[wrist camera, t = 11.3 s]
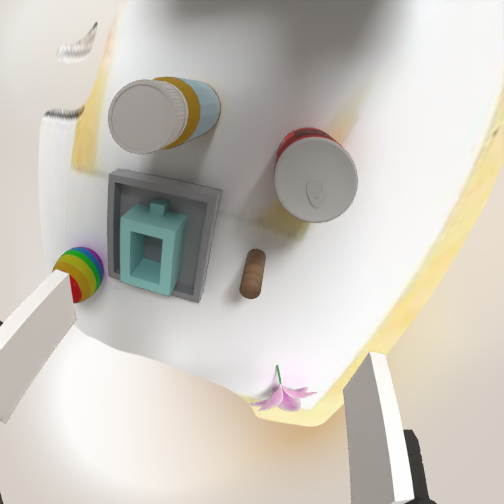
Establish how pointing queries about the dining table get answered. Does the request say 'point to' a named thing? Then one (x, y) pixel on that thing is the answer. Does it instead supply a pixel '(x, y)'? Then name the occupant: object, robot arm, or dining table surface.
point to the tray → (181, 201)
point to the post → (253, 274)
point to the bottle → (162, 113)
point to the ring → (132, 246)
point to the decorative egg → (81, 271)
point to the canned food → (314, 176)
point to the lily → (284, 398)
